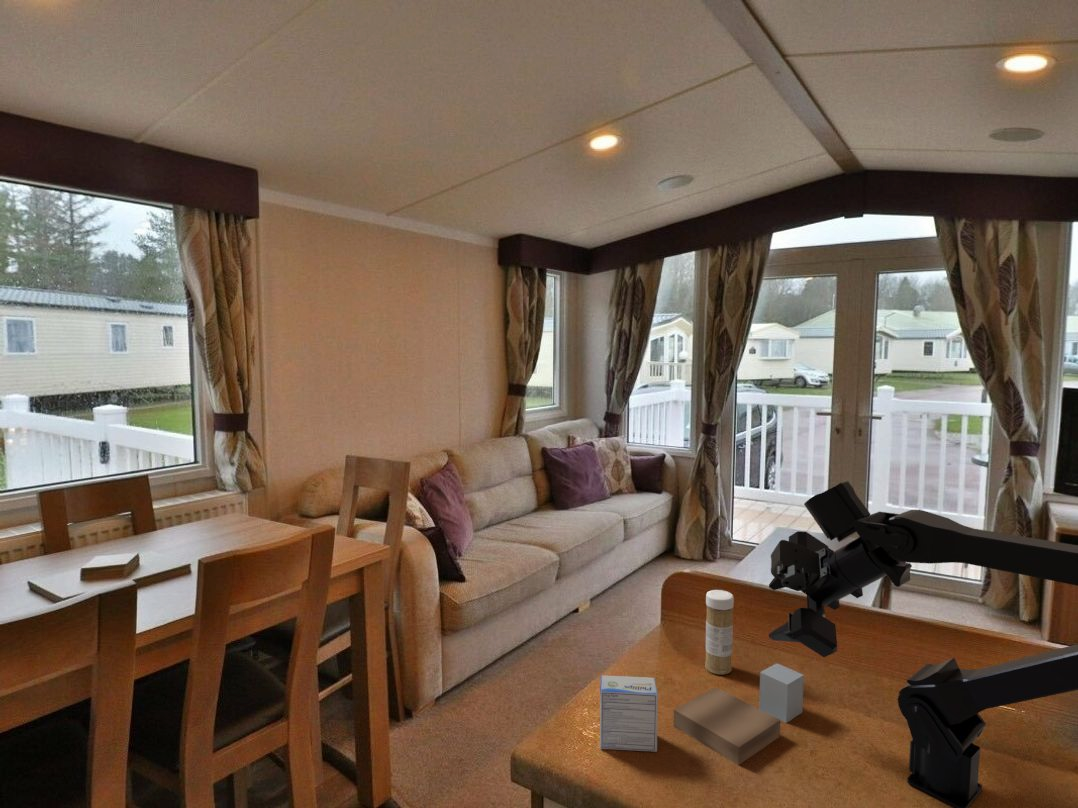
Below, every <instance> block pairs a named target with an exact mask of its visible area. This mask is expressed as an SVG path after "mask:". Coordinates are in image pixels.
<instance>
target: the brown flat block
mask: <svg viewBox="0 0 1078 808" xmlns="http://www.w3.org/2000/svg"><path fill="white" fill-rule="evenodd" d="M673 727H674V728H675V729H677V730H678V731H680V732H683V733H684V734H686V735H687V736H689V737H690V738H692V739H694V740H695V741H697V742H699V743H700V744H703V745H704V746H706V747H707V748H708V749H710V750H712V751H714V752H715V753H717V754H719V755H720V756H722V757H723V758H725V759H726V760H729V761H730V762H732V763H733V764H735V765H737V766H739V765H741V764H742V763H745V761H747V760H748V759H749V758H751V757H752V756H754V755H756V754H757V753H759V752H760V751H762V750H763V749H764V748H766V747H767V746H769V745H770V744H771V743H773V742H775V741H777V739H779V738H780V737H781V735H780V734H781V720H779V719H778V718H776V717H774V716H772V715H770V714H768V713H766V712H764V711H762V710H760V709H759V707H758V708H757V707H756V706H754V705H752V704H751V703H748V702H746V701H745V700H742V699H740V698H738V697H736V696H734V695H732V694H730V693H728V692H726V691H725V690H722V689H721V688H718V687H717V686H715V687H713V688H712V689H710V690H708V691H706V692H704V693H701V694H700V695H699V696H697V697H695V698H693V699H691V700H689V701H687V702H686V703H684V704H682V705H679V706H678V707H675V709H673Z"/></svg>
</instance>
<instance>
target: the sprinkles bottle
mask: <svg viewBox="0 0 1078 808" xmlns="http://www.w3.org/2000/svg"><path fill="white" fill-rule="evenodd" d="M734 600H735V598H734V595H733V594H732V593H731V592H729V591H726V590H723V589H712V590H709V591H707V592H706V594H705V604H706V620H705V662H704V666H705V669H706V671H708V672H709V673H711V674H714V675H721V676H724V675H728V674H729V673H731V672H732V670H733V668H732V653H733V631H734V628H733V626H734V624H733V610H734V606H735V605H734V604H735V603H734V602H735V601H734Z"/></svg>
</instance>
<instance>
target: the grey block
mask: <svg viewBox="0 0 1078 808" xmlns="http://www.w3.org/2000/svg"><path fill="white" fill-rule="evenodd" d="M804 675H805V674H803V673H800V672H798V671H795V670H794V669H791V668H789V667H786V666H784V665H782V664H779V663H774V664H773V665H771V666H769V667H767V668H766V669H763V670H761V671H760V673H759V698H758V699H759V700H758V701H759V703H758V709H760V710H762V711H764V712H766V713H768V714H770V715H772V716H774V717H776V718H778V719H779V720H780V722H783V723H785V724H787V723H788V722H790V721H792V720H793V719H794V718H796V717H797V716H800V714H803V706H804V705H803V703H804V681H805V679H804V678H805V677H804Z"/></svg>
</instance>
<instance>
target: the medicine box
mask: <svg viewBox="0 0 1078 808" xmlns="http://www.w3.org/2000/svg"><path fill="white" fill-rule="evenodd" d="M656 681H657V680H656V678H654V677H643V676H626V675H624V676H623V675H605V674H604V675H601V676H600V684H599V685H600V687H599V692H600V693H599V749H601V750H615V751H619V750H620V751H639V752H653V753H657V752H658V716H659V715H658V713H659V711H658V709H659V693H658V688H657V683H656Z"/></svg>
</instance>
